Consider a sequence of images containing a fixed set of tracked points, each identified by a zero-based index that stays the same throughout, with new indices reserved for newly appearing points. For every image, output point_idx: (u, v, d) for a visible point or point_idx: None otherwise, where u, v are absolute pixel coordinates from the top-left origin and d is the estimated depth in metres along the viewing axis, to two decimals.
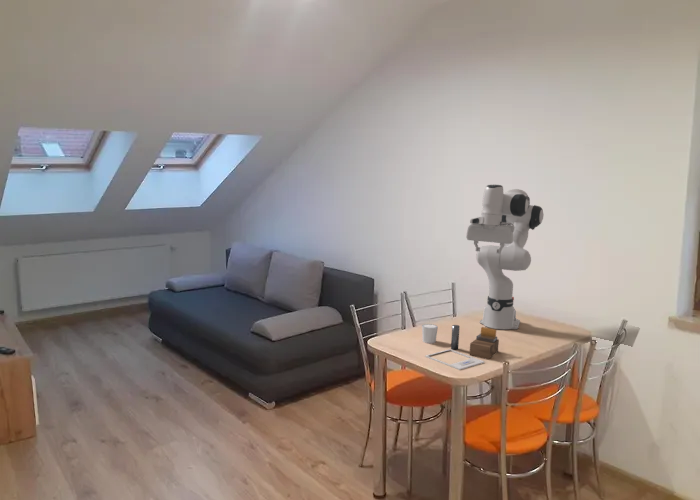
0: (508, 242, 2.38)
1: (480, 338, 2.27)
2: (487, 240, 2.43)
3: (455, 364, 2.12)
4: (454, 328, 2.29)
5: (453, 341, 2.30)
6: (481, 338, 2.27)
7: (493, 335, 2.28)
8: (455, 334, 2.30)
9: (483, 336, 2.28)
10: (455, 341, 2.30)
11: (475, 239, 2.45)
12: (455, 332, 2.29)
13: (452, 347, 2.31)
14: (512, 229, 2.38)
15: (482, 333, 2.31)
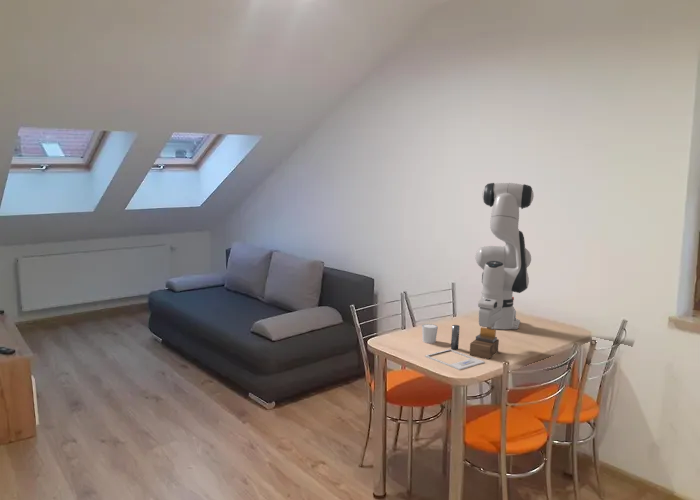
0: (501, 316, 2.37)
1: (479, 338, 2.27)
2: (494, 321, 2.29)
3: (455, 364, 2.12)
4: (454, 328, 2.29)
5: (453, 341, 2.30)
6: (480, 338, 2.27)
7: (492, 335, 2.28)
8: (455, 334, 2.30)
9: (482, 336, 2.28)
10: (455, 341, 2.30)
11: (490, 324, 2.25)
12: (455, 332, 2.29)
13: (452, 347, 2.31)
14: None
15: (481, 333, 2.30)
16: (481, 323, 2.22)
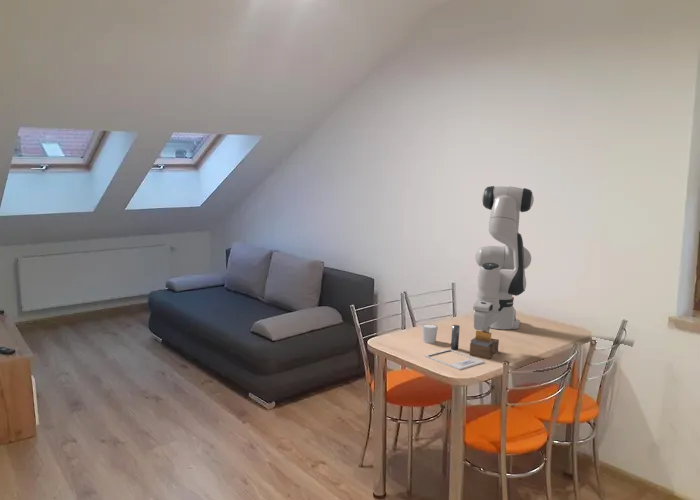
0: (497, 319, 2.33)
1: (475, 342, 2.22)
2: (490, 324, 2.25)
3: (455, 364, 2.12)
4: (454, 328, 2.29)
5: (453, 341, 2.30)
6: (476, 342, 2.22)
7: (488, 339, 2.23)
8: (455, 334, 2.30)
9: (478, 340, 2.23)
10: (455, 341, 2.30)
11: (486, 327, 2.20)
12: (455, 332, 2.29)
13: (452, 347, 2.31)
14: None
15: (477, 337, 2.25)
16: (476, 326, 2.18)
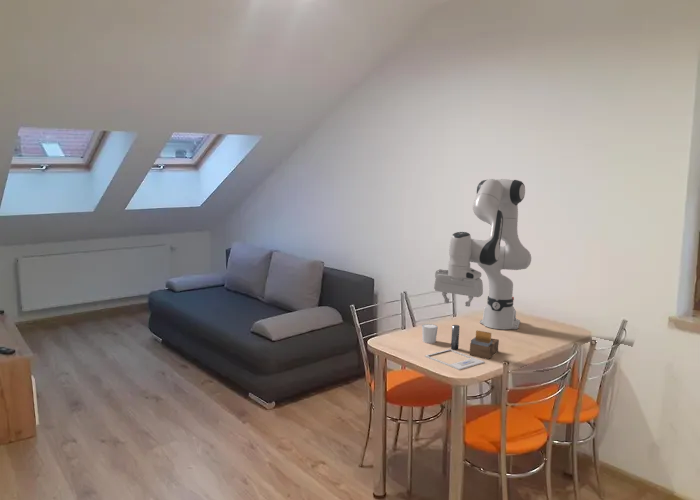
0: None
1: (475, 342, 2.22)
2: None
3: (455, 364, 2.12)
4: (454, 328, 2.29)
5: (453, 341, 2.30)
6: (476, 342, 2.22)
7: (488, 339, 2.23)
8: (455, 334, 2.30)
9: (478, 340, 2.23)
10: (455, 341, 2.30)
11: None
12: (455, 332, 2.29)
13: (452, 347, 2.31)
14: None
15: (477, 337, 2.25)
16: (480, 293, 2.23)
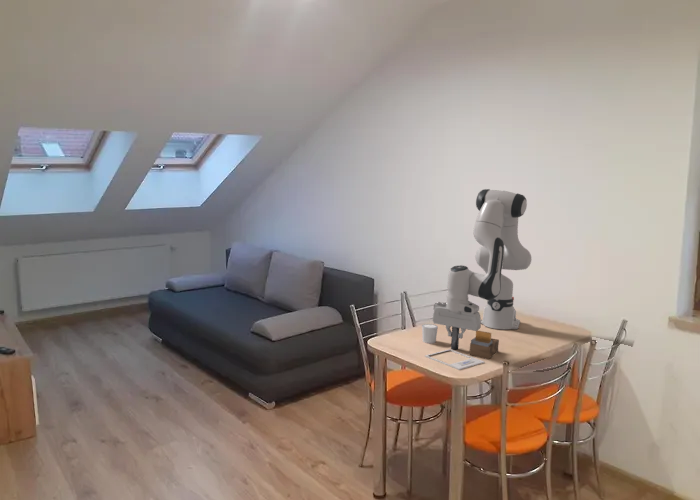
0: None
1: (475, 342, 2.22)
2: None
3: (455, 364, 2.12)
4: (454, 328, 2.29)
5: (453, 341, 2.30)
6: (476, 342, 2.22)
7: (488, 339, 2.23)
8: (455, 334, 2.30)
9: (478, 340, 2.23)
10: (455, 341, 2.30)
11: None
12: (455, 332, 2.29)
13: (452, 347, 2.31)
14: None
15: (477, 337, 2.25)
16: (478, 327, 2.25)
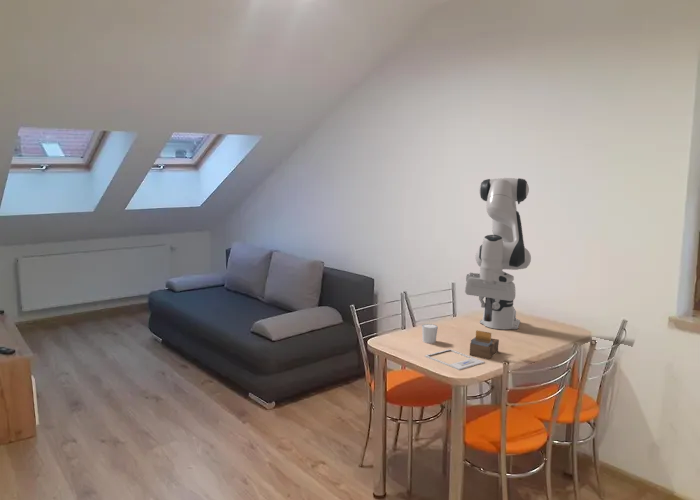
0: None
1: (475, 342, 2.22)
2: None
3: (455, 364, 2.12)
4: (488, 299, 2.25)
5: (486, 312, 2.26)
6: (476, 342, 2.22)
7: (488, 339, 2.23)
8: (489, 305, 2.25)
9: (478, 340, 2.23)
10: (489, 312, 2.26)
11: None
12: (489, 303, 2.25)
13: (485, 319, 2.26)
14: None
15: (477, 337, 2.25)
16: (513, 297, 2.20)
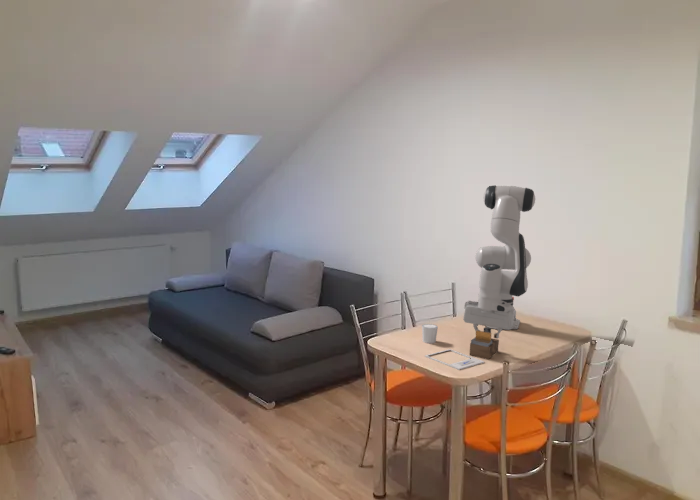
0: None
1: (475, 342, 2.22)
2: None
3: (455, 364, 2.12)
4: (486, 331, 2.27)
5: None
6: (476, 342, 2.22)
7: (488, 339, 2.23)
8: None
9: (478, 340, 2.23)
10: None
11: None
12: None
13: None
14: None
15: (477, 337, 2.25)
16: (511, 326, 2.22)
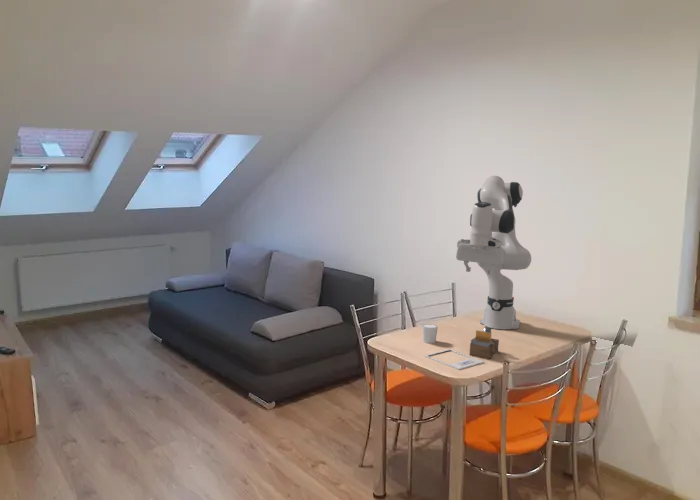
0: None
1: (475, 342, 2.22)
2: None
3: (455, 364, 2.12)
4: (486, 331, 2.27)
5: None
6: (476, 342, 2.22)
7: (488, 339, 2.23)
8: None
9: (478, 340, 2.23)
10: None
11: None
12: None
13: None
14: None
15: (477, 337, 2.25)
16: (502, 261, 2.30)
